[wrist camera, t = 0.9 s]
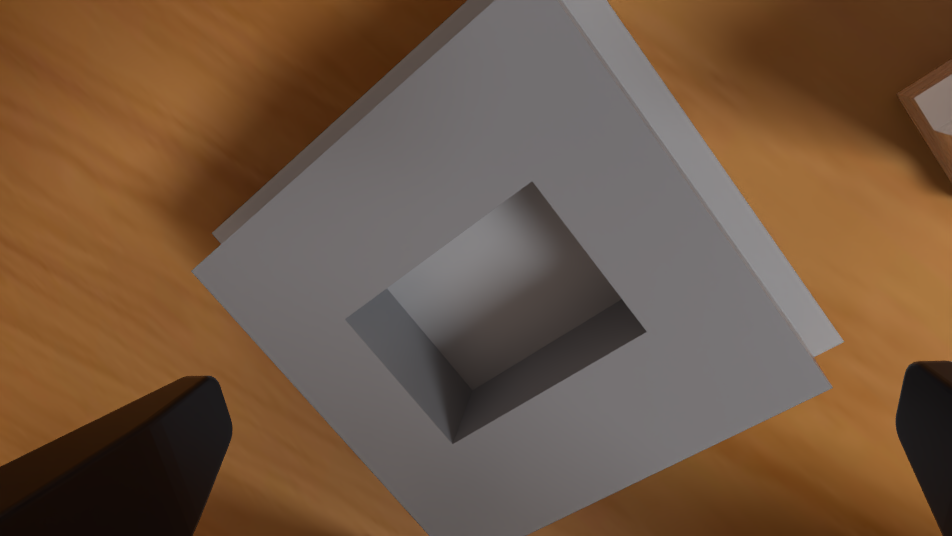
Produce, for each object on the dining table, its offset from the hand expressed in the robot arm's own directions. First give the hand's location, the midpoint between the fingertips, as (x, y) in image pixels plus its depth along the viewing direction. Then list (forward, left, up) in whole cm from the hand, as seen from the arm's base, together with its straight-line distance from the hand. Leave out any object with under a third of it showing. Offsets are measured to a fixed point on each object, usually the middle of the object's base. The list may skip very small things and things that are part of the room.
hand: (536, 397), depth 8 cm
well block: (-2, +4, -14) cm, 14 cm away
